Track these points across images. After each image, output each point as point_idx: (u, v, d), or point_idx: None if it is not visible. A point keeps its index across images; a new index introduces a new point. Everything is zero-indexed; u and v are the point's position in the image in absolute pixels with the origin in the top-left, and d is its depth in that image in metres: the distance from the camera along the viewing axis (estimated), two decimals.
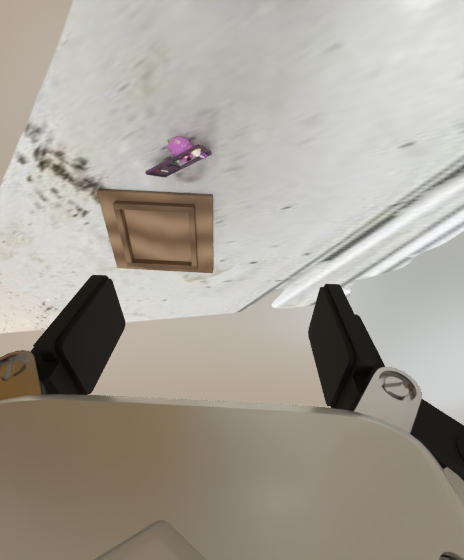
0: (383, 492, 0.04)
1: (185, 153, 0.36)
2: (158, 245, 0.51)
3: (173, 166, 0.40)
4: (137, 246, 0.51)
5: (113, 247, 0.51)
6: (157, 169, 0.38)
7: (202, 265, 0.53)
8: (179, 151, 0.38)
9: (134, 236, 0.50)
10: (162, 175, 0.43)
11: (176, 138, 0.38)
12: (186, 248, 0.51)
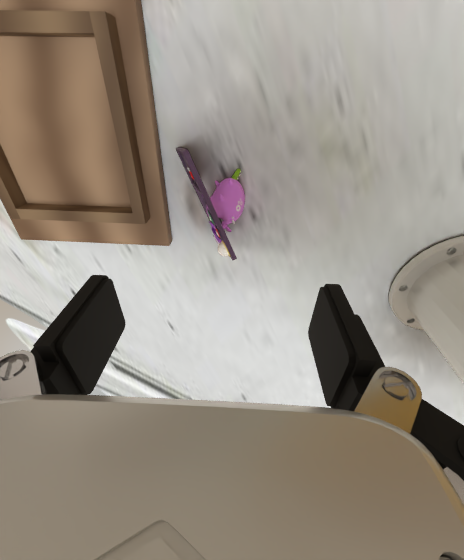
0: (383, 492, 0.04)
1: (223, 238, 0.21)
2: (31, 125, 0.21)
3: None
4: None
5: None
6: (194, 178, 0.18)
7: (28, 221, 0.26)
8: (224, 212, 0.22)
9: (27, 55, 0.19)
10: None
11: (243, 200, 0.22)
12: (53, 192, 0.24)
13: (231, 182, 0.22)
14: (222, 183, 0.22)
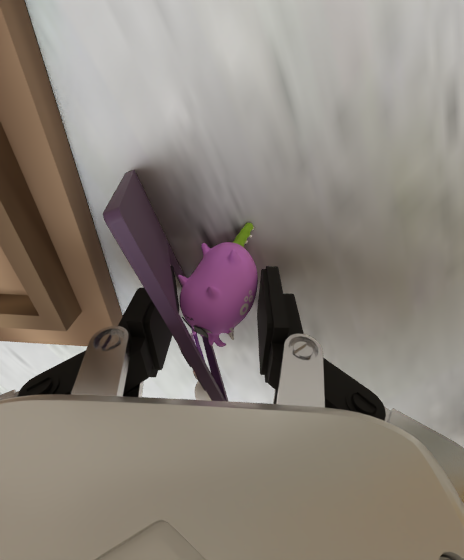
0: (383, 492, 0.04)
1: (208, 390, 0.09)
2: None
3: None
4: None
5: None
6: None
7: None
8: (214, 321, 0.10)
9: None
10: None
11: (254, 290, 0.11)
12: None
13: (234, 258, 0.10)
14: (215, 255, 0.11)
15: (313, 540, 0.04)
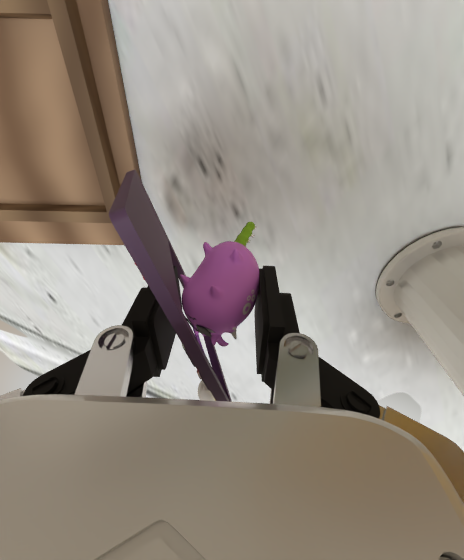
0: (383, 492, 0.04)
1: (212, 389, 0.09)
2: None
3: None
4: None
5: None
6: None
7: None
8: (216, 321, 0.10)
9: None
10: None
11: (257, 289, 0.11)
12: (19, 191, 0.23)
13: (237, 257, 0.10)
14: (218, 254, 0.11)
15: (313, 540, 0.04)
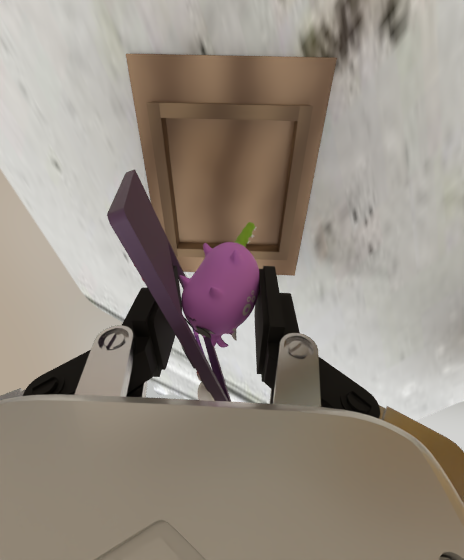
0: (383, 492, 0.04)
1: (212, 391, 0.09)
2: (207, 182, 0.25)
3: None
4: (200, 133, 0.23)
5: (189, 59, 0.20)
6: None
7: None
8: (216, 322, 0.10)
9: (224, 131, 0.23)
10: None
11: (257, 290, 0.11)
12: (206, 233, 0.28)
13: (237, 258, 0.10)
14: (218, 255, 0.11)
15: (313, 540, 0.04)
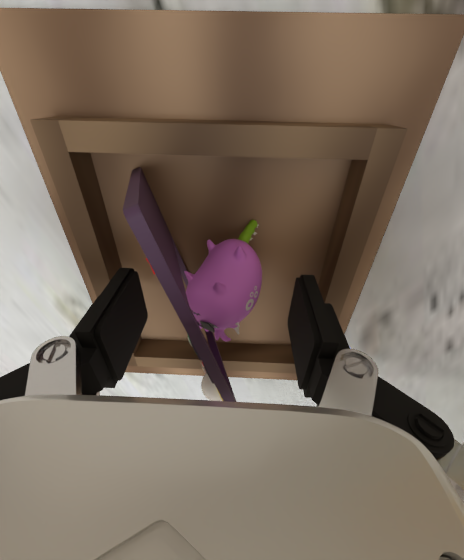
0: (383, 492, 0.04)
1: (216, 383, 0.09)
2: None
3: None
4: (161, 176, 0.11)
5: (123, 20, 0.09)
6: None
7: None
8: (220, 316, 0.10)
9: (210, 173, 0.11)
10: None
11: (259, 286, 0.11)
12: (184, 329, 0.17)
13: (241, 254, 0.11)
14: (221, 251, 0.11)
15: (313, 540, 0.04)
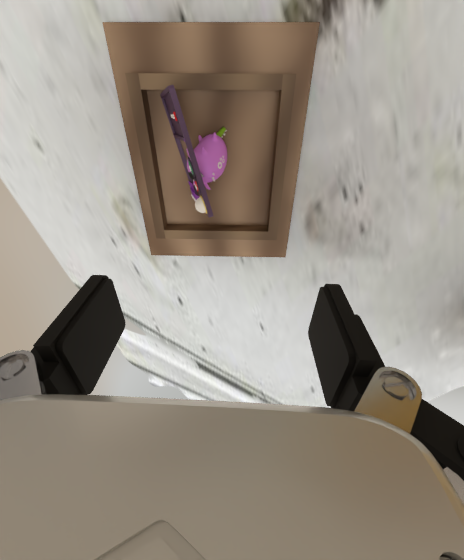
0: (383, 492, 0.04)
1: (202, 191, 0.20)
2: None
3: None
4: (183, 106, 0.22)
5: (168, 26, 0.19)
6: (177, 119, 0.17)
7: (163, 239, 0.30)
8: (204, 167, 0.21)
9: (208, 104, 0.22)
10: (163, 96, 0.21)
11: (225, 158, 0.22)
12: (194, 214, 0.28)
13: (215, 137, 0.21)
14: (206, 137, 0.22)
15: (313, 540, 0.04)
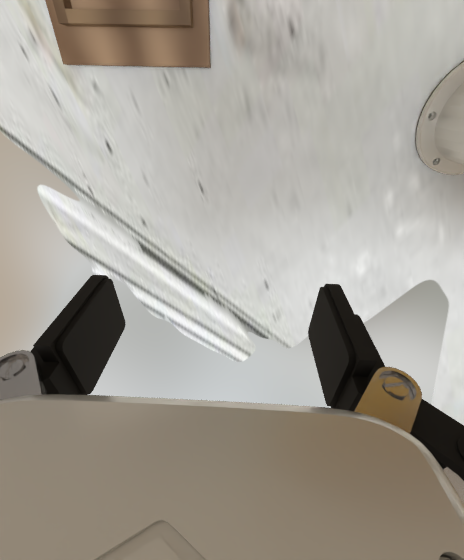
0: (383, 492, 0.04)
1: None
2: None
3: None
4: None
5: None
6: None
7: (72, 38, 0.27)
8: None
9: None
10: None
11: None
12: None
13: None
14: None
15: (313, 540, 0.04)
